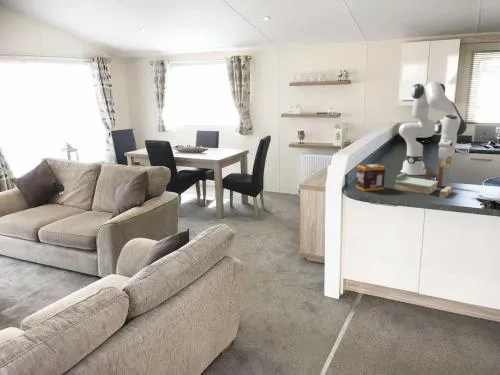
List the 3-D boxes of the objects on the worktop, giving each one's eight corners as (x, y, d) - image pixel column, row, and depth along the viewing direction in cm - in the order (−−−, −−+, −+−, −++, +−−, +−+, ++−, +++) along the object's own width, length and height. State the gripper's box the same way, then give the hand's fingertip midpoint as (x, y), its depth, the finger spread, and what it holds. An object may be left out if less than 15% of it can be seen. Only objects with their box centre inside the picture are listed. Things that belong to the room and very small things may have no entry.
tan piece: (403, 184, 272) (403, 178, 271) (451, 192, 253) (452, 185, 251) (394, 189, 261) (395, 182, 260) (444, 197, 241) (445, 190, 240)
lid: (403, 177, 271) (404, 172, 270) (437, 182, 257) (438, 176, 256) (394, 182, 260) (395, 176, 259) (430, 187, 245) (430, 181, 244)
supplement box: (355, 187, 267) (356, 165, 263) (375, 185, 271) (376, 163, 267) (363, 191, 257) (364, 168, 253) (383, 189, 261) (385, 166, 257)
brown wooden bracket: (424, 184, 272) (427, 159, 267) (441, 186, 267) (444, 160, 263) (424, 185, 269) (427, 159, 264) (441, 187, 264) (444, 161, 260)
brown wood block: (442, 166, 248) (443, 155, 247) (450, 167, 245) (451, 156, 243) (440, 167, 245) (441, 156, 244) (448, 168, 242) (449, 157, 241)
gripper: (448, 139, 251) (445, 160, 254) (437, 143, 236) (435, 165, 240) (458, 140, 247) (455, 162, 250) (448, 144, 232) (446, 167, 236)
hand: (445, 164), depth 245 cm, fingers closed on brown wood block, 4 cm apart
